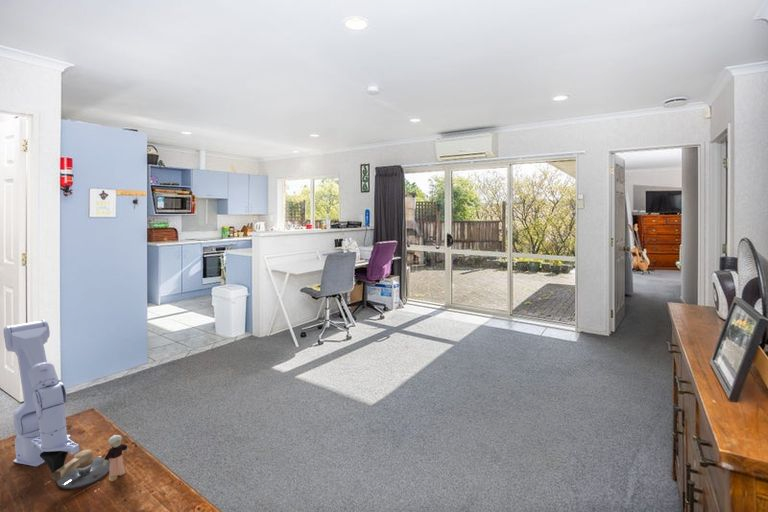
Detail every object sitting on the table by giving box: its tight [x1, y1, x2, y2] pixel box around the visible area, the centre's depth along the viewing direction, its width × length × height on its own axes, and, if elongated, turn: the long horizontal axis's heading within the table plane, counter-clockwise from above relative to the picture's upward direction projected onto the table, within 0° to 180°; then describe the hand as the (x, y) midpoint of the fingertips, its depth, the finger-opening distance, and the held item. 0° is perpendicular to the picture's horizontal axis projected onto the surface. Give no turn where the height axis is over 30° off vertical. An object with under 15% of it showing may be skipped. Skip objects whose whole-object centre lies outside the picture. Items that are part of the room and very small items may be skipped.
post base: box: [56, 457, 110, 490], centre depth 121 cm, size 13×13×3 cm
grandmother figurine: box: [102, 434, 130, 482], centre depth 121 cm, size 8×4×13 cm, turn 168°
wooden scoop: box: [51, 449, 94, 482], centre depth 118 cm, size 11×4×3 cm, turn 171°
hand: (57, 472), depth 115 cm, fingers closed
